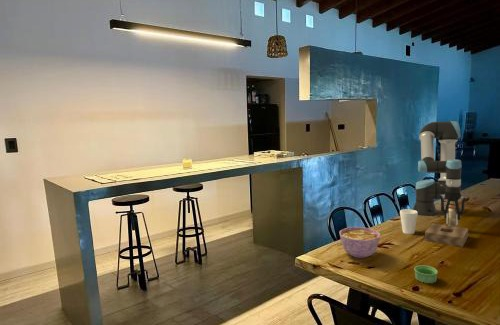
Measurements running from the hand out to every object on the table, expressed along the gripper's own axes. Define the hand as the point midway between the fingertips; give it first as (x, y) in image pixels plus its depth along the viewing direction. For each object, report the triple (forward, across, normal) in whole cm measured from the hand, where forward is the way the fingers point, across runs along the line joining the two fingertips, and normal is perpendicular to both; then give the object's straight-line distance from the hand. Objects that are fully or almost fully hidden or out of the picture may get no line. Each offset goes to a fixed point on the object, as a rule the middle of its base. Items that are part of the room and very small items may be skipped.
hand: (452, 223), depth 197 cm
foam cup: (+4, -20, -16) cm, 26 cm away
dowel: (+4, 0, 0) cm, 4 cm away
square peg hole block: (+4, 0, -16) cm, 17 cm away
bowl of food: (+4, -31, -63) cm, 70 cm away
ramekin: (+5, +2, -72) cm, 72 cm away
